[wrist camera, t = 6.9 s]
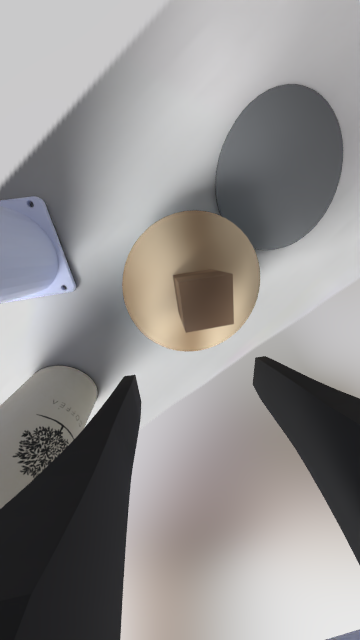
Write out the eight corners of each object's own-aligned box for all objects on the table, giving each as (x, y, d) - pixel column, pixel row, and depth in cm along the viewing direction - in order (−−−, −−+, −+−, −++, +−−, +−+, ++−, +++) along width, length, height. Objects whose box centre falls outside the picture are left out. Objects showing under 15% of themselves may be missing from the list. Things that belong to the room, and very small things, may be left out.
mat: (219, 257, 18) (221, 257, 17) (210, 98, 13) (213, 91, 13) (323, 241, 18) (329, 240, 18) (349, 85, 14) (357, 77, 13)
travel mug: (51, 419, 23) (-258, 886, 6) (15, 374, 20) (-819, 1059, 3) (108, 403, 23) (-33, 809, 6) (81, 356, 20) (-342, 901, 3)
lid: (141, 356, 16) (135, 396, 11) (106, 224, 12) (73, 204, 7) (253, 335, 16) (289, 365, 12) (256, 203, 12) (313, 173, 8)
